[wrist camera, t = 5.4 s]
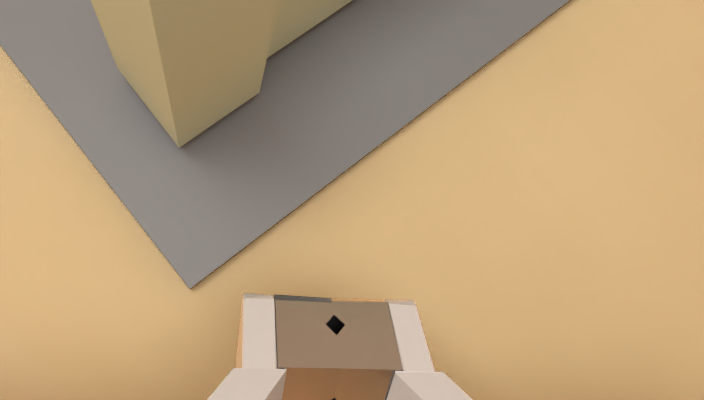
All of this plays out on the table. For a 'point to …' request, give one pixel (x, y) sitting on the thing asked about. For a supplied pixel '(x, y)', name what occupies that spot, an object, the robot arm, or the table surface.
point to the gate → (201, 52)
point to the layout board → (257, 110)
